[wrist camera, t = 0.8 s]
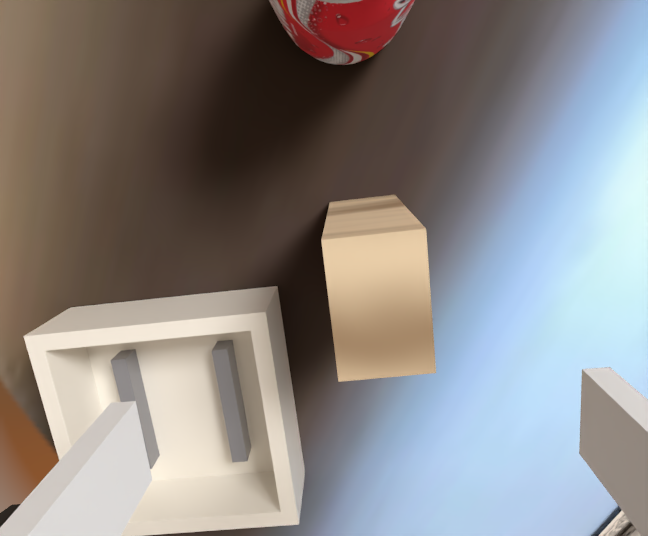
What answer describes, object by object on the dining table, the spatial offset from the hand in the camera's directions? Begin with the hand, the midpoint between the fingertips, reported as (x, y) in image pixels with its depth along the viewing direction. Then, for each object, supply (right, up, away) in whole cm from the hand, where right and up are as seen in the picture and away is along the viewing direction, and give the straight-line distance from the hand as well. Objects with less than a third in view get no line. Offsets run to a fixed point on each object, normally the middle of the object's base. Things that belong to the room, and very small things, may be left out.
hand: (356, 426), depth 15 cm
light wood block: (+2, +6, +17) cm, 18 cm away
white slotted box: (-10, -4, +20) cm, 22 cm away
